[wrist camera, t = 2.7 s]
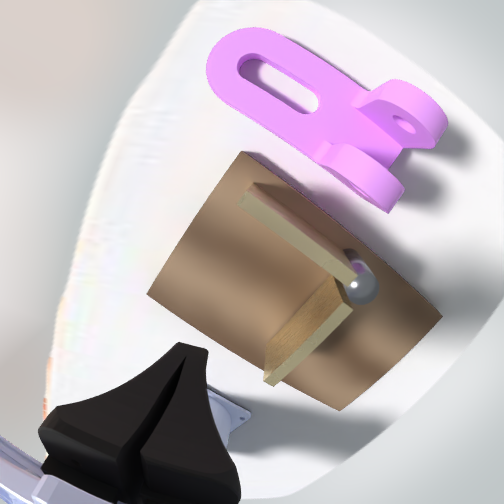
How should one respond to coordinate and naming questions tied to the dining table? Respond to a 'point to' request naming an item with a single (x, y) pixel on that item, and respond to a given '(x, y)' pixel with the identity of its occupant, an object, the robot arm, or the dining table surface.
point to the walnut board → (285, 290)
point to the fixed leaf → (313, 244)
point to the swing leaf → (306, 330)
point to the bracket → (329, 112)
